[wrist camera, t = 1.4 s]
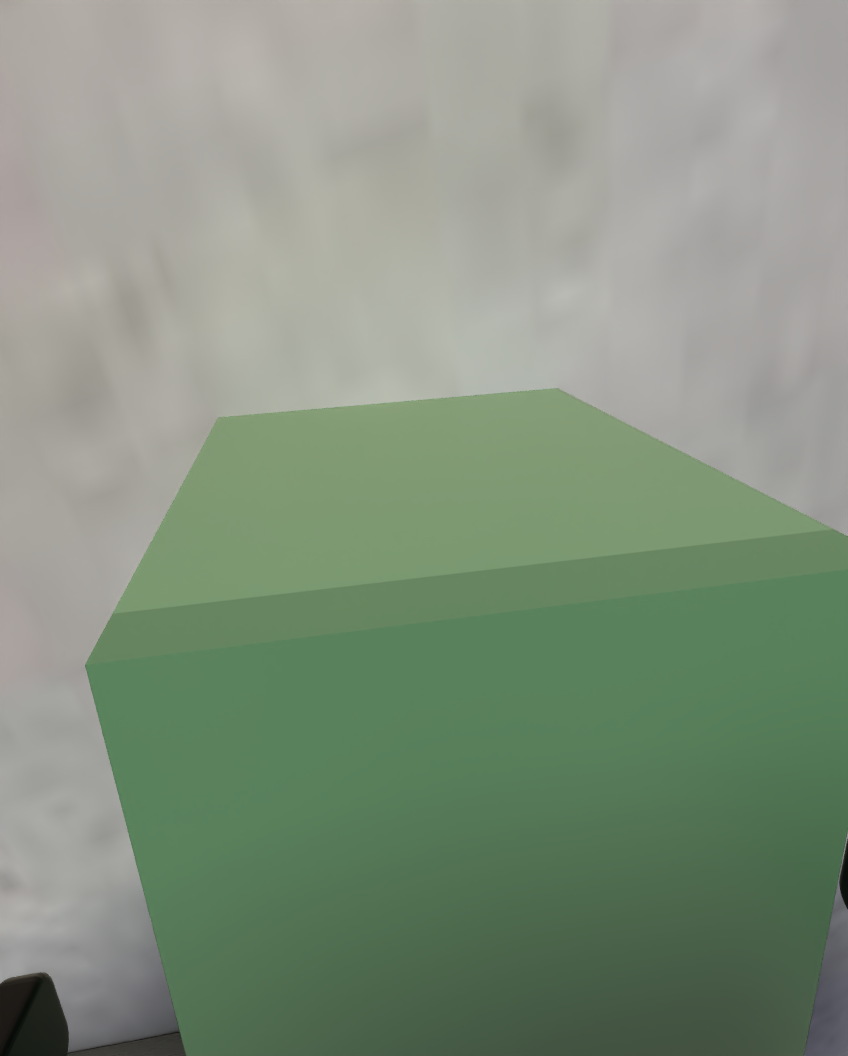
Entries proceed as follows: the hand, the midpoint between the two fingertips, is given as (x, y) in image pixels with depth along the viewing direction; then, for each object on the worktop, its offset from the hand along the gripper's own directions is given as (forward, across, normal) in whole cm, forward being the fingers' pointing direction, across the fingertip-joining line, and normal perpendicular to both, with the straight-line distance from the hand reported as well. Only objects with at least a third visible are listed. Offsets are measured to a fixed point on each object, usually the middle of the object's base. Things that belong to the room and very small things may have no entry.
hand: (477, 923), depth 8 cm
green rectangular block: (+4, 0, 0) cm, 4 cm away
